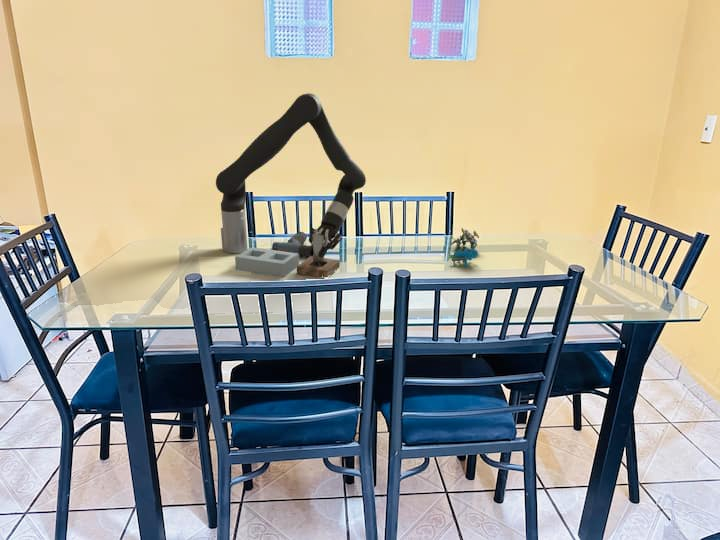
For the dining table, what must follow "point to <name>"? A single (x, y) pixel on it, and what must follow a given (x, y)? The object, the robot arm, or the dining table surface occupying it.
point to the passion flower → (466, 239)
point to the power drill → (293, 245)
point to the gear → (463, 256)
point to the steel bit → (318, 249)
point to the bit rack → (267, 261)
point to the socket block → (318, 268)
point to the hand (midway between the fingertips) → (315, 255)
